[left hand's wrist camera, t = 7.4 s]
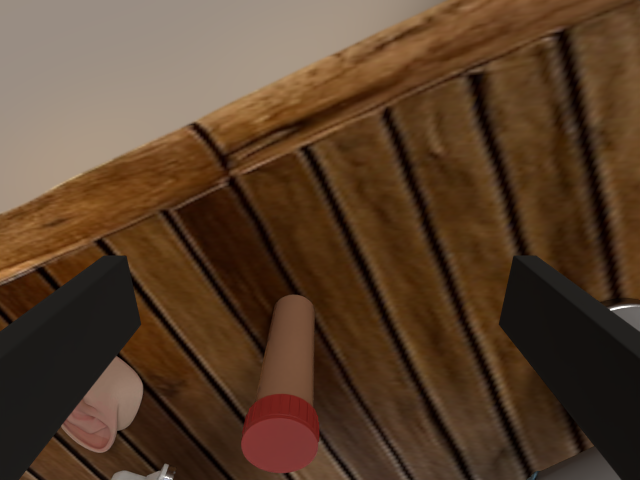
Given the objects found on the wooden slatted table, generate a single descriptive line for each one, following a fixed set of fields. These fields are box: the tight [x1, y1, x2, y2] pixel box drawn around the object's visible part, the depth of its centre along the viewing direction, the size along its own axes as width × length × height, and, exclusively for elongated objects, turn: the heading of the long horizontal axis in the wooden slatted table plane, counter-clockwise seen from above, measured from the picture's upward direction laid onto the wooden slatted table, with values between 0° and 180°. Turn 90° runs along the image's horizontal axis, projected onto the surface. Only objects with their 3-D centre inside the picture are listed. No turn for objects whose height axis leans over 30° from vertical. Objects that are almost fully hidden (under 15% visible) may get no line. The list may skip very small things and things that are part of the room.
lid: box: [241, 394, 319, 473], centre depth 29 cm, size 6×6×2 cm
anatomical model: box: [61, 356, 143, 453], centre depth 47 cm, size 13×4×12 cm
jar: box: [255, 295, 315, 407], centre depth 36 cm, size 5×5×18 cm
